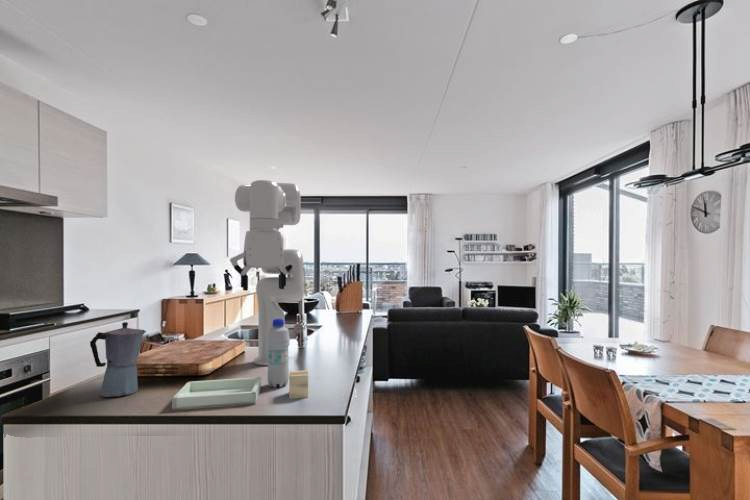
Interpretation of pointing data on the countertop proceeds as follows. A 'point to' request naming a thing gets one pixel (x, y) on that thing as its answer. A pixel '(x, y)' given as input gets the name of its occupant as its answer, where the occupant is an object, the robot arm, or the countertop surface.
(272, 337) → the bottle
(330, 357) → the countertop surface
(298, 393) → the block
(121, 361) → the moka pot
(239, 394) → the tray
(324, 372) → the countertop surface
